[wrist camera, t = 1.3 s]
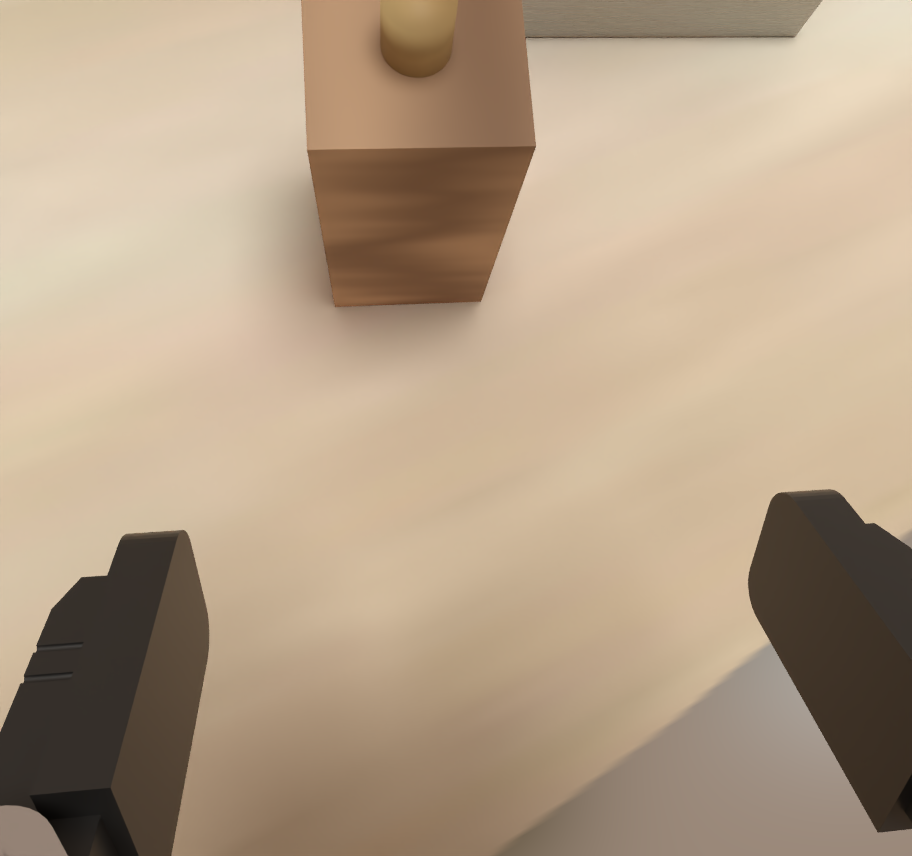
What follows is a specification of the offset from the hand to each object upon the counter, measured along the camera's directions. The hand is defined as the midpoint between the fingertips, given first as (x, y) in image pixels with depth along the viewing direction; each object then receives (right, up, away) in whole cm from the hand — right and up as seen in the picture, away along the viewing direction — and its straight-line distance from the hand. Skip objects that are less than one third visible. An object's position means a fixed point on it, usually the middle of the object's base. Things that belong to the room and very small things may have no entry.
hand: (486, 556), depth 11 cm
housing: (-2, +9, +16) cm, 19 cm away
